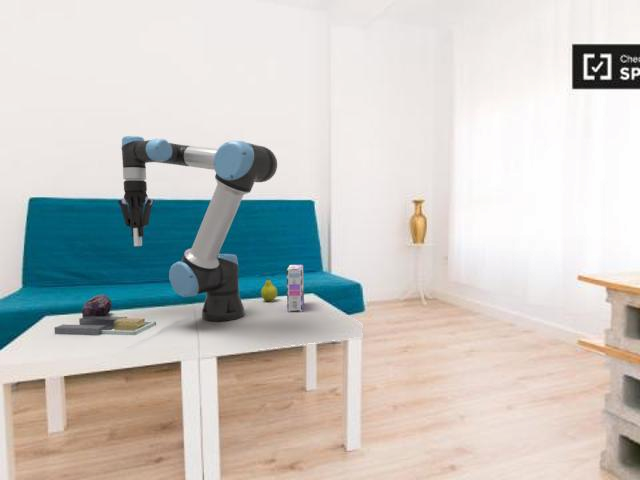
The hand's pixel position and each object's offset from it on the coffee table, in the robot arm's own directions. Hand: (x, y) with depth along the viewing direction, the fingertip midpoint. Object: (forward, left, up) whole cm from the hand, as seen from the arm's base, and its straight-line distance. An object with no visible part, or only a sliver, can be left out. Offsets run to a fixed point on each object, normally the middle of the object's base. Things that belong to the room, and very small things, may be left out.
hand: (138, 245), depth 150 cm
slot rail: (+4, +20, -26) cm, 33 cm away
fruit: (-40, -31, -27) cm, 57 cm away
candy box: (-54, -19, -27) cm, 63 cm away
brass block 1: (-7, +20, -26) cm, 33 cm away
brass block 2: (-11, +20, -26) cm, 35 cm away
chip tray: (-8, +20, -26) cm, 34 cm away
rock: (+14, +5, -27) cm, 30 cm away
